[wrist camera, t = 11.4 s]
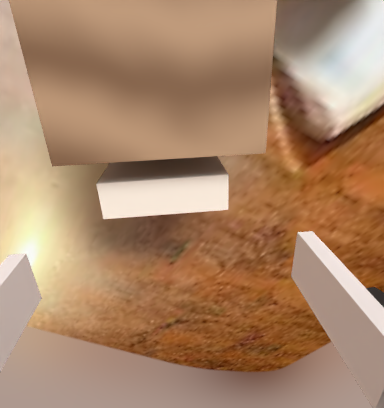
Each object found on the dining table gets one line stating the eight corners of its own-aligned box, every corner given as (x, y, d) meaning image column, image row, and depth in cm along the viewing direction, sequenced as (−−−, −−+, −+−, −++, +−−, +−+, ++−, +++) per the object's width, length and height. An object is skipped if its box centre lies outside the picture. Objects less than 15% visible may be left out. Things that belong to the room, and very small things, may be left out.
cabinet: (79, 14, 26) (-3, -44, 13) (226, 10, 27) (280, -48, 14) (109, 185, 33) (74, 252, 21) (224, 177, 34) (259, 238, 21)
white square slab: (120, 146, 32) (96, 183, 21) (207, 141, 32) (228, 174, 21) (125, 181, 33) (106, 232, 22) (208, 175, 34) (227, 222, 23)
